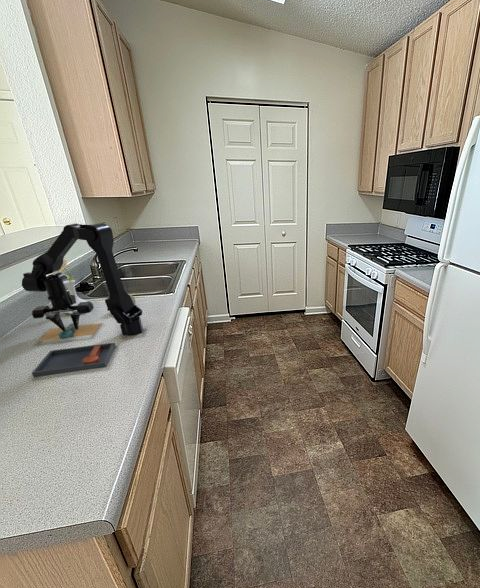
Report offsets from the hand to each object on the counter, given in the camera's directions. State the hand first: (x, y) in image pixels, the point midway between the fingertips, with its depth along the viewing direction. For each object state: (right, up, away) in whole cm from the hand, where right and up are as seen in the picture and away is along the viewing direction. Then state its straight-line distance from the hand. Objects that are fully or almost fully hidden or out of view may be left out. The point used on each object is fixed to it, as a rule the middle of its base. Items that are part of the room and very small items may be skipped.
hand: (71, 330), depth 128 cm
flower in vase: (-10, +9, +21) cm, 25 cm away
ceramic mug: (+10, +10, +22) cm, 26 cm away
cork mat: (0, -2, -1) cm, 2 cm away
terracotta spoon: (+22, -10, -20) cm, 31 cm away
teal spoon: (0, -1, -1) cm, 2 cm away
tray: (+17, -11, -21) cm, 29 cm away
